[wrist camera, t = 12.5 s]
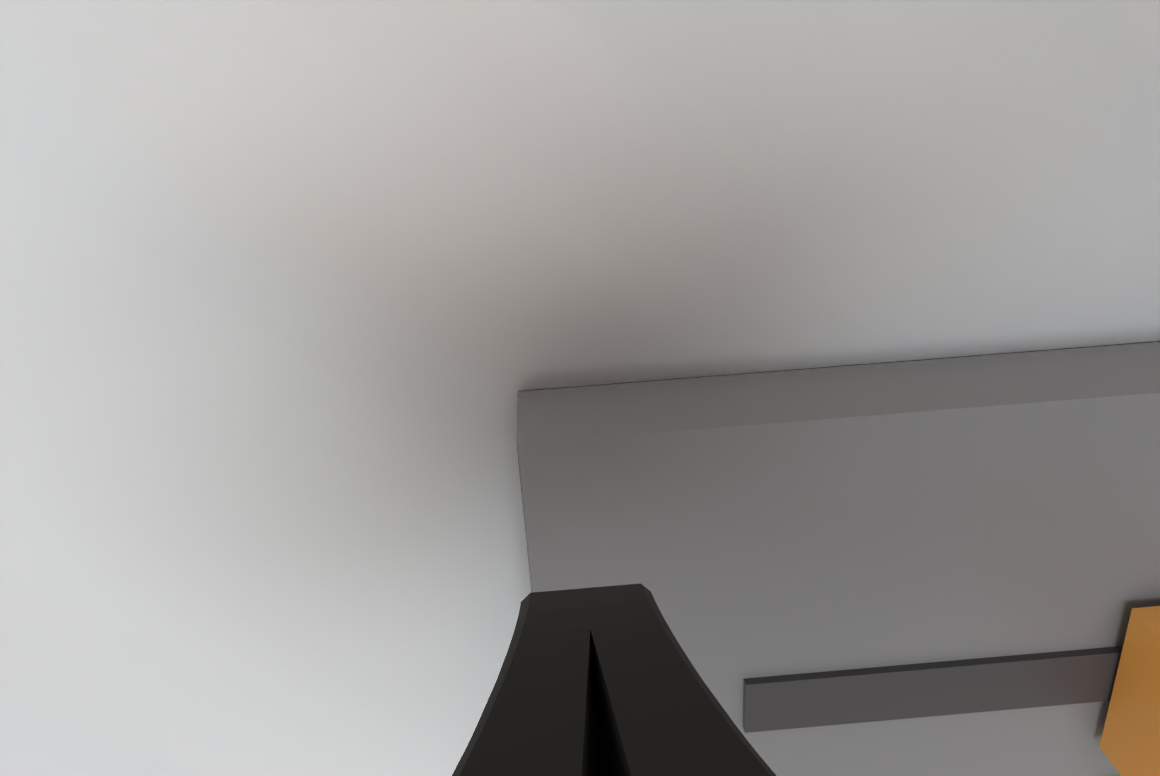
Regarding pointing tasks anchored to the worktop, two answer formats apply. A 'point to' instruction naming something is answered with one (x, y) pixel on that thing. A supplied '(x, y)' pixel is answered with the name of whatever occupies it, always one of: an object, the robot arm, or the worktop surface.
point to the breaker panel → (873, 546)
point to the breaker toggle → (1136, 699)
